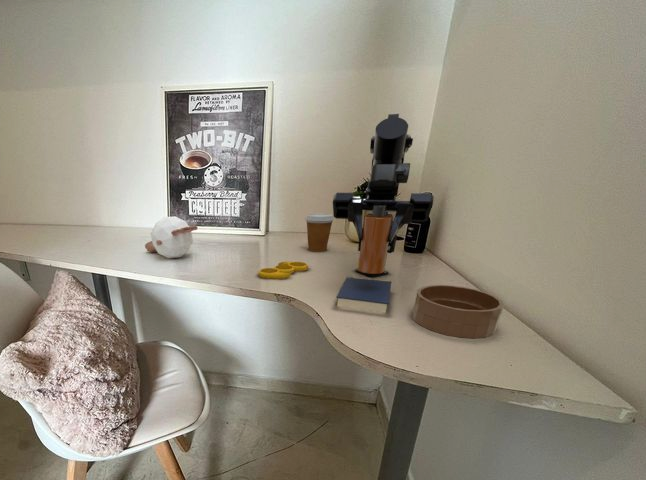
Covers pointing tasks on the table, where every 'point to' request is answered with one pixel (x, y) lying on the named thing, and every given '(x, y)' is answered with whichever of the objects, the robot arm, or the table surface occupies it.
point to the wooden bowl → (457, 311)
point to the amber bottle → (374, 241)
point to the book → (364, 294)
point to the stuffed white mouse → (171, 237)
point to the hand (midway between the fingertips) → (374, 241)
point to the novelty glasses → (282, 270)
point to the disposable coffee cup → (318, 231)
